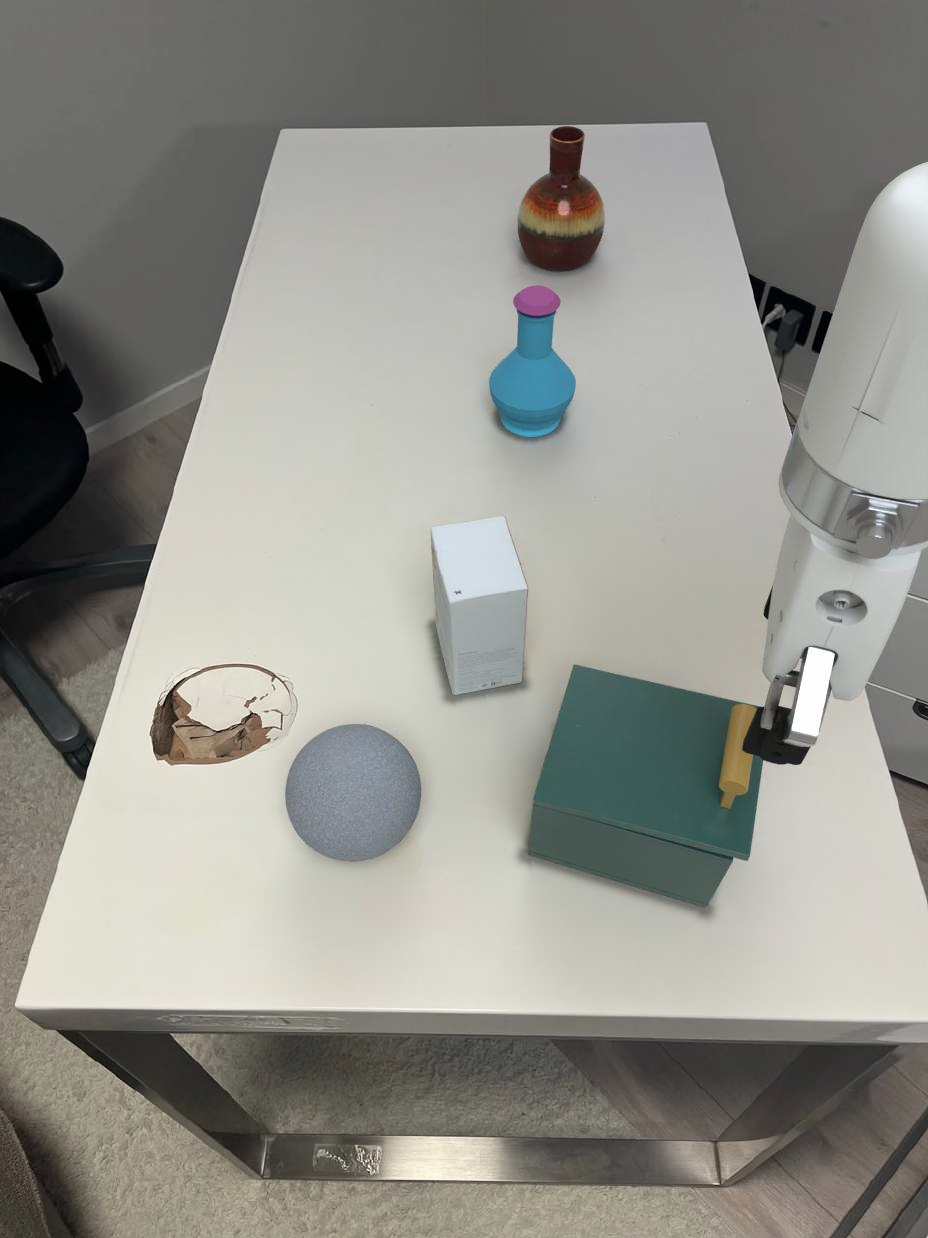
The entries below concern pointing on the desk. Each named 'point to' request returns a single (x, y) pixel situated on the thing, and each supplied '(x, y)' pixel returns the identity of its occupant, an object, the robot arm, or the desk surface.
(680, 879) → the green hollow open box
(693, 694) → the lid
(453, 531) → the small box
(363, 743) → the decorative stone
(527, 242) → the vase
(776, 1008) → the desk surface
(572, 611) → the desk surface
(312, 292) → the desk surface
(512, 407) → the perfume bottle
